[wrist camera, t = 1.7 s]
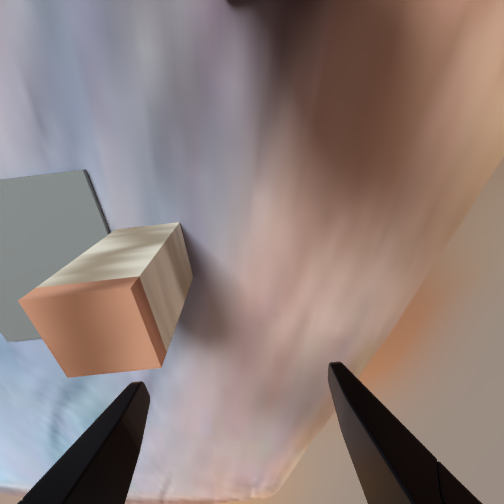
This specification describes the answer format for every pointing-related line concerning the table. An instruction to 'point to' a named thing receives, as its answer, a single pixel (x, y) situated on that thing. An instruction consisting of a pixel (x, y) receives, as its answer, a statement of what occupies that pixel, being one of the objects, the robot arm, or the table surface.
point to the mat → (42, 237)
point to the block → (114, 302)
